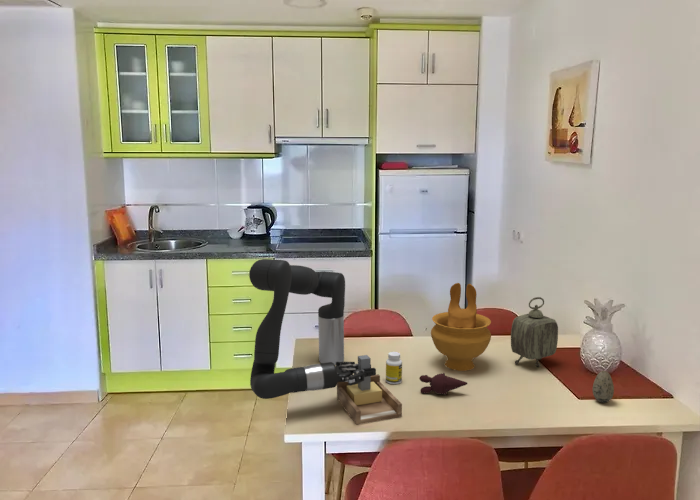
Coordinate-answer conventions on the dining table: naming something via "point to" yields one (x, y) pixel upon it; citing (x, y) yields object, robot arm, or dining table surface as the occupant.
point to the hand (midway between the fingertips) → (372, 369)
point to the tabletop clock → (534, 335)
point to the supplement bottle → (393, 368)
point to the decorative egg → (603, 387)
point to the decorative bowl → (461, 331)
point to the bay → (370, 404)
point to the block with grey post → (364, 386)
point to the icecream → (440, 383)
